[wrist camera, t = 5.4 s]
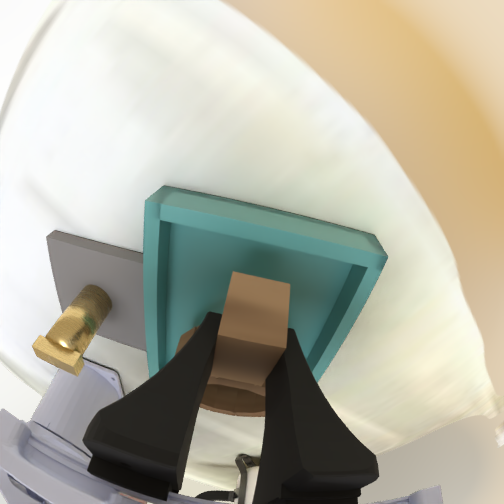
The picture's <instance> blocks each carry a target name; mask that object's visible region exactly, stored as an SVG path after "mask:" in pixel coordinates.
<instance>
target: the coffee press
mask: <svg viewBox="0 0 504 504" xmlns="http://www.w3.org/2000/svg"><path fill="white" fill-rule="evenodd" d="M242 458H243V460H244V461H245V463H246V464H247V465H248V466H249V467H251V468H248V469H246V467H245V465H244V463H243V461H242ZM235 462H236V464H237V466H238V468H239V470H240V474H239V476H238V479H237V486H236V489H235V490H234V491H207V492H204V493H201V494H199V495H197V496H196V497H195V498H199V499H204V500H209V501H216V500H219V501H231V502H234V504H252V501H253V496H254V492H255V487H256V482H257V476H258V471H259V466H258V465H256V464H254V463H253V461H252V460H251V459H250V457H249V456H248V455H241V456H238V457H236V459H235Z"/></svg>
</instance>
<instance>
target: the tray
mask: <svg viewBox="0 0 504 504" xmlns="http://www.w3.org/2000/svg"><path fill="white" fill-rule="evenodd" d="M387 259H388V255H387V254H386V252H385V251H384V249H383V247H382V246H381V244H380V243H379V241H378V240H377V238H376V236H375V235H373V234H369V233H366V232H362V231H359V230H355V229H351V228H348V227H344V226H340V225H337V224H333V223H329V222H325V221H321V220H317V219H313V218H310V217H306V216H302V215H298V214H293V213H289V212H285V211H281V210H277V209H273V208H268V207H264V206H260V205H255V204H251V203H247V202H242V201H238V200H233V199H228V198H224V197H219V196H214V195H209V194H205V193H200V192H195V191H190V190H185V189H179V188H174V187H169V186H162V187H161V188H160V189H159V190H157V191H156V192H155V193H154V194H153V195H151V196H150V197H149V198H148V199H147V200H145V212H144V239H143V290H144V317H145V334H146V347H147V359H148V369H149V378H151V377H152V376H154V375H155V374H156V373H157V372H158V371H159V370H161V369H162V368H163V367H164V366H165V365H166V364H167V363H168V362H169V361H170V360H171V359H172V358H173V357H174V356H175V353H176V349H177V346H178V343H179V340H180V336H181V335H182V334H184V333H186V332H187V331H189V330H190V329H192V328H194V327H195V326H196V327H198V326H200V324H201V323H202V321H203V319H204V318H205V316H206V314H207V312H210V311H211V312H215V313H219V314H223V310H224V306H225V302H226V297H227V293H228V289H229V285H230V281H231V277H232V273H233V271H234V272H238V273H243V274H247V275H252V276H256V277H261V278H265V279H270V280H275V281H279V282H284V283H289V284H290V299H289V316H288V328H292V329H294V330H295V332H296V335H297V338H298V341H299V343H300V346H301V349H302V351H303V354H304V356H305V359H306V361H307V363H308V365H309V367H310V370H311V372H312V374H313V376H314V378H315V380H316V382H318V381H319V379H320V378H321V376H322V375H323V373H324V372H325V370H326V369H327V367H328V366H329V364H330V363H331V361H332V359H333V358H334V356H335V355H336V353H337V351H338V350H339V348H340V347H341V345H342V343H343V342H344V340H345V338H346V337H347V335H348V333H349V331H350V330H351V328H352V326H353V324H354V323H355V321H356V319H357V317H358V316H359V314H360V312H361V310H362V308H363V306H364V305H365V303H366V301H367V299H368V297H369V295H370V293H371V291H372V289H373V287H374V285H375V284H376V282H377V280H378V278H379V276H380V273H381V271H382V269H383V267H384V265H385V263H386V261H387Z"/></svg>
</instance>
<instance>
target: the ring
mask: <svg viewBox="0 0 504 504" xmlns="http://www.w3.org/2000/svg"><path fill="white" fill-rule="evenodd" d="M289 299H290V284H289V283H284V282H279V281H275V280H270V279H265V278H261V277H256V276H252V275H247V274H243V273H238V272H234V271H233V273H232V277H231V281H230V285H229V289H228V293H227V297H226V302H225V306H224V310H223V314H222V318H221V323H220V327H219V331H218V336H217V341H216V347H215V353H214V359H213V367H212V371H211V374H210V377H209V380H208V383H207V386H206V389H205V392H204V395H203V398H202V401H201V404H200V406H199V407H201V408H203V409H206V410H210V411H213V412H218V413H223V414H228V415H233V416H235V415H237V416H246V417H261V416H262V417H265V379H266V378H267V377H268V375H269V374H270V372H271V371H272V370H273V368H274V366H275V365H276V363H277V362H278V360H279V359H280V357H281V356H282V354H283V352H284V351H285V349H286V344H287V331H288V316H289ZM198 327H199V326H198ZM198 327H196V326H195V327H194V328H192V329H190V330H189V331H187V332H186V333H184V334H182V335H181V336H180V340H179V343H178V346H177V349H176V353H175V355H176V354H177V353H178V352H179V351H180V350H181V349H182V347H183V346H184V345H185V344H186V343H187V342H188V340H189V339H190V338H191V337H192V335H193V334H194V333H195V331H196V330H197V329H198Z"/></svg>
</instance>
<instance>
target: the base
mask: <svg viewBox="0 0 504 504" xmlns="http://www.w3.org/2000/svg"><path fill="white" fill-rule="evenodd" d="M46 238H47V245H48V251H49V257H50V262H51V267H52V272H53V277H54V281H55V286H56V290H57V294H58V298H59V302H60V305H61V309H62V313H64V311H65V310H66V309H67V307H68V306H69V305H70V304H71V302H72V301H73V300H74V299H75V298H76V296H77V295H78V294H79V293H80V292H81V290H82V289H83V288H84V287H85V286H86V285H89V284H92V285H96V286H98V287H100V288H102V289H103V290H104V291H105V292H106V293H107V294H108V296H109V297H110V299H111V301H112V309H111V311H110V313H109V314H108V316H107V317H106V319H105V320H104V322H103V323H102V325H101V326H100V328H99V329H98V331H97V333H96V334H97V335H99V336H102V337H105V338H108V339H110V340H113V341H116V342H119V343H122V344H125V345H128V346H131V347H134V348H137V349H140V350H144V351H147V347H146V334H145V317H144V290H143V253H139V252H135V251H131V250H127V249H123V248H119V247H115V246H111V245H107V244H104V243H100V242H96V241H92V240H88V239H85V238H81V237H77V236H74V235H70V234H66V233H63V232H59V231H55V230H54V231H53V232H52V233H50V234H49V235H48V236H47V237H46Z"/></svg>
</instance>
